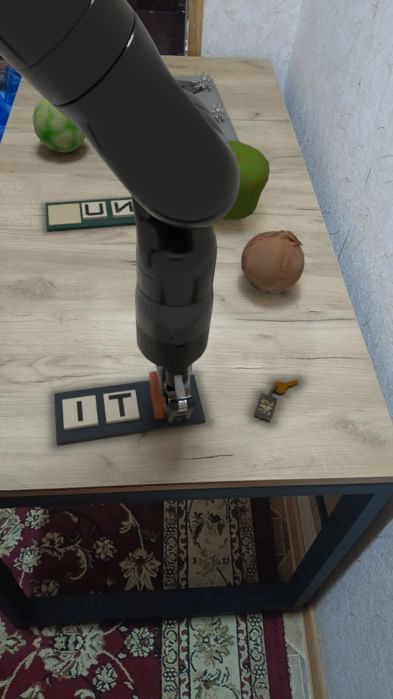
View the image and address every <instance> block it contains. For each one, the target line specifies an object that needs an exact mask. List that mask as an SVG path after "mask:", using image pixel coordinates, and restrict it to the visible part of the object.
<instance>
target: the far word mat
mask: <svg viewBox="0 0 393 699" xmlns="http://www.w3.org/2000/svg"><path fill="white" fill-rule="evenodd" d="M45 215H46V216H45V217H46V218H45V219H46V231H47V232H56V231H70V230H72V231H73V230H84V229H95V228H97V229H99V228H108V227H109V228H111V227H121V226H122V227H123V226H136V222H135V216H134V211H133V205H132V198H131V196H130V197H129V196H128V197H114V198H101V199H85V200H71V201H69V200H67V201H55V202H54V201H53V202H46V203H45Z"/></svg>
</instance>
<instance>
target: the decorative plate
mask: <svg viewBox="0 0 393 699" xmlns="http://www.w3.org/2000/svg"><path fill="white" fill-rule="evenodd" d="M197 73H198V74H197ZM197 73H196V72H194V74H195V75H172V76H173V77H174V79H175V80H176V81H177V82H178V84H179V85H180V86H181V87H182V89H183V90H186V91H189V92H191V93H193V94H194V95H196V96H197V97H198V98H199V99H201V100H202V101H203V102H204V103H205V104H206V105H207V107H208V108H209V109H210V111H211V112H212V114H213V116H214V117H215V119H216V121H217V123H218V125H219V127H220V128H221V130H222V132H223V134H224V135H225V137H226V139H227V140H232V141H239V142H240V140H239V137H238V135H237V132H236V130H235V128H234V125H233V123H232V121H231V118H230V117H229V114H228V111H227V107H225V104H224V102H223V99H222V97H221V95H220V93H219V91H218V88H217V85H216V84H215V80H214V77H215V75H214V76H210V75H211V73H208V71H202V72H200V71H198V72H197Z"/></svg>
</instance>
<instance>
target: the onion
mask: <svg viewBox="0 0 393 699" xmlns="http://www.w3.org/2000/svg"><path fill="white" fill-rule="evenodd" d="M301 246H304V245H303V243H302V241H300V240H299V238H298V237H297V235H295V233H294V232H293V231H291V230H283V229H281V230H278V231H277V230H272V231H270V230H269V231H264V232H260V233H257V234H255V235H254V236H253V237H252V238H250V239H248V241H247V243H246V244H245V246H244V247H243V249H242V253H241V257H240V260H241V261H240V268H241V272H243V275H244V278H246V279H247V281H248V282H249V283H250V286H251V287H252V288H255V289H256V290H259V291H261V292H263V293H266V294H267V295H269V294H275V295H279V294H280V293H281V292H284V291H287V290H288V289H290V288H293V287H294V286H295V285H296V284H297V282H299V280H300V278H301V277H302V275H303V272H304V269H305V265H306V264H305V254H304V251H303V248H302V247H301Z"/></svg>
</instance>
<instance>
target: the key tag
mask: <svg viewBox="0 0 393 699" xmlns="http://www.w3.org/2000/svg"><path fill="white" fill-rule="evenodd" d="M298 383H299V380H298V379H295V380H291V381H289V382H286V381H278V380H277V381H275V382H273V383H272V384H273V385H272V388H271V389H270V390H269V392H268V394H266V393H263V392H261V395H260V397H259V400H258V402H257V405H256V408H255V411H254V413H253V416H254V417H256V418H259V419H262V420H264V421H266V422H271V419H272V416H273V414H274V411H275V409H276V405H277V402H278V398H277V397H274V396H272V395H273V393H274V392H275V393H278V394H284V393H286V391H287V389H289V387H292V386H295V385H298Z"/></svg>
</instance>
